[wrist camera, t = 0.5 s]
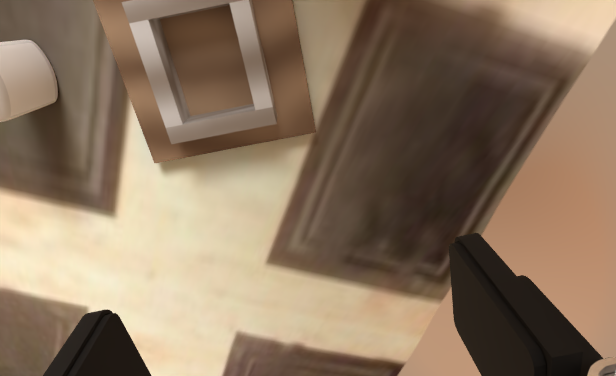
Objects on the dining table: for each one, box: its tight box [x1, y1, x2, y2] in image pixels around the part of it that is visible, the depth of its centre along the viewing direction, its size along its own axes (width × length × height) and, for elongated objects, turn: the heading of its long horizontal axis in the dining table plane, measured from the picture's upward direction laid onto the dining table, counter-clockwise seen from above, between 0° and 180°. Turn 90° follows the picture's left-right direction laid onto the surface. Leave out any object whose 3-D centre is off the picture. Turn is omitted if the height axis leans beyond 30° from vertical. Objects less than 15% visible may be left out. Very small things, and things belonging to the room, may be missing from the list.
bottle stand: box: [93, 0, 316, 163], centre depth 33 cm, size 16×16×4 cm
